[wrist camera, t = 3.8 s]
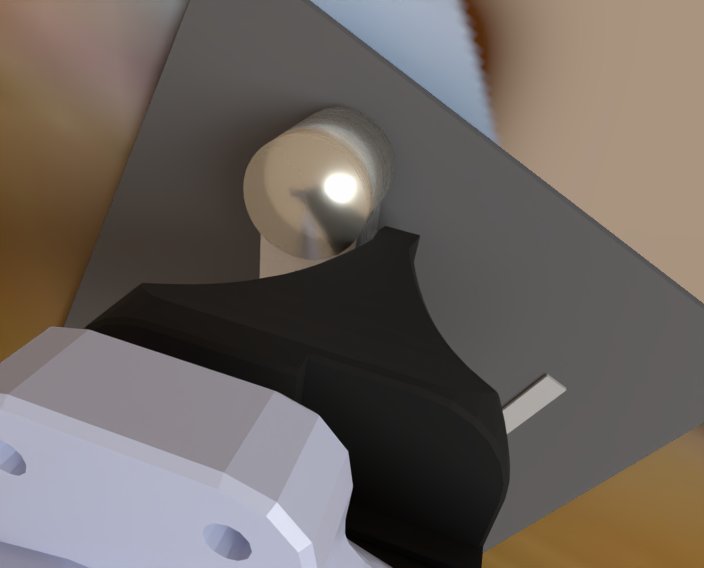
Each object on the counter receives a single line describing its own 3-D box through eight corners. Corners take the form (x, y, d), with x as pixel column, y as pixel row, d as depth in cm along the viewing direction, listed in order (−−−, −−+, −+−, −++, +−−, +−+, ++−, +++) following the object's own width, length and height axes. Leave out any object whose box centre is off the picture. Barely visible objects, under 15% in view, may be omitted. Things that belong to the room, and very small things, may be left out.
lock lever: (355, 541, 18) (333, 611, 16) (256, 507, 19) (223, 571, 17) (431, 123, 11) (409, 156, 9) (267, 93, 12) (212, 118, 10)
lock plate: (381, 603, 21) (377, 617, 21) (50, 376, 20) (39, 384, 20) (780, 362, 12) (787, 376, 12) (224, -65, 11) (212, -67, 11)
